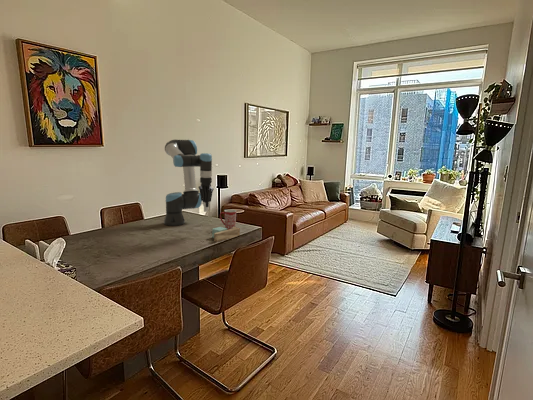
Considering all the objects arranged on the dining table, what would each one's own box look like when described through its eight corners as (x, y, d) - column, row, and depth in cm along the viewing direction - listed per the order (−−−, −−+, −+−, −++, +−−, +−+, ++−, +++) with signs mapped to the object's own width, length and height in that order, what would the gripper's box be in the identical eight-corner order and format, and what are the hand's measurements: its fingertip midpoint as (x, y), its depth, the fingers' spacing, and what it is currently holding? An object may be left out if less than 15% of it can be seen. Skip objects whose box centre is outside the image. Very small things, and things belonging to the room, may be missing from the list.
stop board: (212, 240, 202) (212, 232, 201) (234, 234, 217) (234, 226, 216) (217, 242, 199) (217, 234, 198) (239, 235, 214) (239, 228, 213)
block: (212, 237, 208) (212, 228, 207) (220, 235, 214) (220, 226, 213) (219, 239, 204) (219, 230, 203) (227, 237, 209) (227, 228, 208)
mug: (238, 227, 233) (238, 209, 231) (233, 230, 225) (233, 212, 222) (222, 226, 237) (222, 208, 235) (217, 229, 228) (217, 210, 226)
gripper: (195, 176, 212) (195, 210, 216) (208, 178, 204) (208, 214, 208) (204, 175, 217) (204, 209, 222) (216, 177, 209) (216, 212, 214)
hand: (206, 211), depth 215 cm, fingers closed
